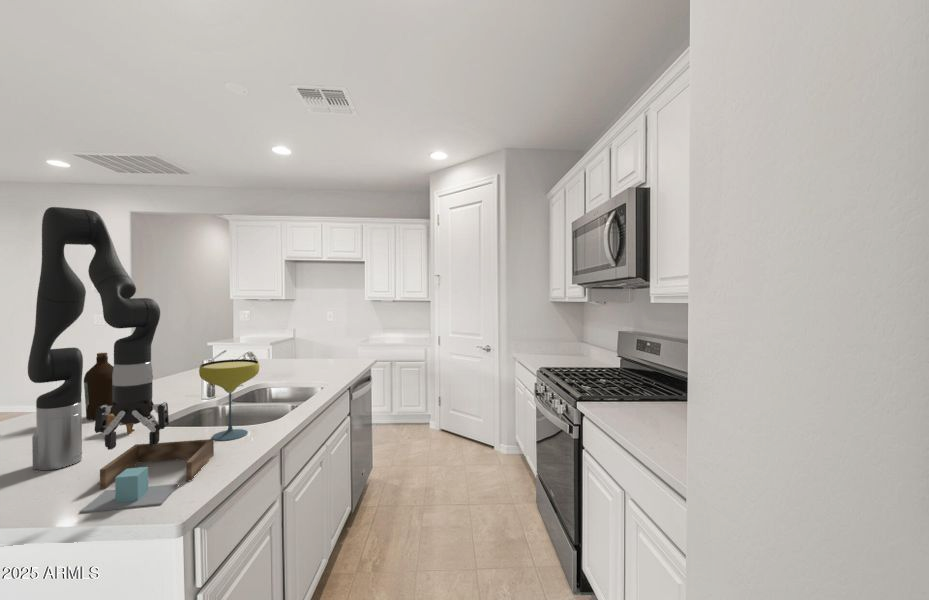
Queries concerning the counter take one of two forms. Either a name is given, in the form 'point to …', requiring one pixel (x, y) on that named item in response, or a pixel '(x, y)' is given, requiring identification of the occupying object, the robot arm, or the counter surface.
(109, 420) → the lion figurine
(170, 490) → the rubber mat
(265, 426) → the counter surface
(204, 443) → the open-front crate
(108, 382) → the olive oil
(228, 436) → the cocktail glass
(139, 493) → the teal block
